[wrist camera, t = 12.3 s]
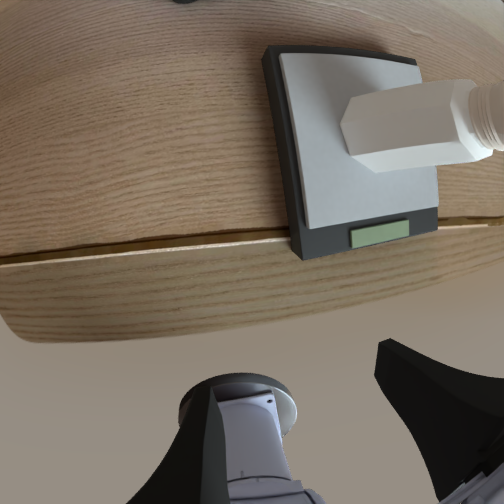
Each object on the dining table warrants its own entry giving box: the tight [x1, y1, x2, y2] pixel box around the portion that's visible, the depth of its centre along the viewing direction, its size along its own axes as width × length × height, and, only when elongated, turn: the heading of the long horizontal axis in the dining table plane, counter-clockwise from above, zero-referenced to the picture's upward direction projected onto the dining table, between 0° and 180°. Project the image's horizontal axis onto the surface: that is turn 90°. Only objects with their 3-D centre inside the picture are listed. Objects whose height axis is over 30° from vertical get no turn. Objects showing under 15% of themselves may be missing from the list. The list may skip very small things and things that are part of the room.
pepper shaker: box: [340, 79, 504, 173], centre depth 10 cm, size 5×5×11 cm
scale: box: [261, 45, 438, 260], centre depth 17 cm, size 14×12×3 cm
